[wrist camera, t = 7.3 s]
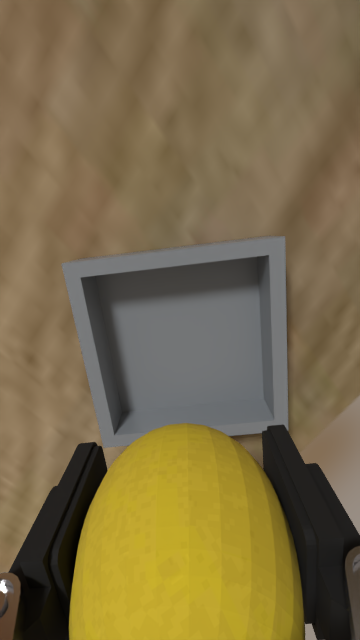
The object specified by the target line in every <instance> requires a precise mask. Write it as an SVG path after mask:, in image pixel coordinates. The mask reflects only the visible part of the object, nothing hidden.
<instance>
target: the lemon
mask: <svg viewBox="0 0 360 640" xmlns="http://www.w3.org/2000/svg"><path fill="white" fill-rule="evenodd" d="M69 640H305V622H304V608H303V597H302V588H301V579H300V571H299V565H298V559H297V553H296V549H295V545H294V540H293V536H292V533H291V530H290V526H289V523H288V520H287V518H286V515H285V513H284V510H283V508H282V506H281V503H280V501H279V499H278V497H277V495H276V492H275V490H274V488H273V486H272V484H271V482H270V480H269V478H268V477H267V475H266V473H265V472H264V470H263V469H262V468H261V466H260V465H259V464H258V462H257V461H256V460H255V459H254V458H253V457H252V456H251V455H250V453H249V452H248V451H247V450H246V449H245V448H244V447H243V446H242V445H241V444H240V443H238V442H237V441H235V440H234V439H232V438H231V437H229V436H228V435H226V434H225V433H223V432H221V431H219V430H216V429H213V428H211V427H208V426H205V425H199V424H191V423H180V424H170V425H166V426H163V427H160V428H157V429H154V430H152V431H150V432H148V433H147V434H145V435H143V436H142V437H140V438H138V439H137V440H135V441H134V442H132V443H131V444H130V445H129V446H128V447H127V448H126V449H125V451H124V452H123V453H122V454H121V455H120V456H119V457H118V458H117V459H116V460H115V461H114V463H113V464H112V465H111V467H110V468H109V470H108V471H107V473H106V475H105V477H104V478H103V480H102V482H101V484H100V486H99V488H98V490H97V492H96V494H95V496H94V498H93V500H92V503H91V505H90V507H89V510H88V512H87V515H86V518H85V521H84V525H83V528H82V531H81V536H80V540H79V545H78V550H77V556H76V563H75V569H74V576H73V583H72V592H71V601H70V615H69Z"/></svg>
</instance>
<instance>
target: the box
mask: <svg viewBox="0 0 360 640" xmlns="http://www.w3.org/2000/svg"><path fill="white" fill-rule="evenodd" d="M62 268H63V273H64V277H65V281H66V286H67V290H68V294H69V299H70V303H71V307H72V312H73V316H74V320H75V325H76V329H77V333H78V338H79V342H80V346H81V351H82V355H83V359H84V364H85V368H86V372H87V377H88V381H89V385H90V390H91V394H92V399H93V403H94V407H95V412H96V416H97V420H98V425H99V429H100V433H101V438H102V442H103V446H104V448H106V447H116V446H127V445H130V444H131V443H132V442H134V441H135V440H137V439H138V438H140V437H142V436H143V435H145V434H147V433H148V432H150V431H152V430H154V429H157V428H160V427H163V426H166V425H170V424H180V423H191V424H199V425H205V426H208V427H211V428H213V429H216V430H219V431H221V432H223V433H225V434H226V435H228V436H235V435H246V434H256V433H262V431H265V430H267V426H272V425H282V424H283V425H285V427H286V429H287V431H288V379H287V319H286V259H285V236H264V237H256V238H248V239H239V240H231V241H223V242H215V243H207V244H198V245H190V246H182V247H174V248H166V249H157V250H149V251H141V252H133V253H125V254H116V255H108V256H100V257H92V258H83V259H78V260H74V261H70V262H66V263H62Z"/></svg>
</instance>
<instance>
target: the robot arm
mask: <svg viewBox="0 0 360 640" xmlns="http://www.w3.org/2000/svg"><path fill="white" fill-rule="evenodd" d="M262 444H263V465H264V472H265V473H266V475H267V477H268V478H269V480H270V482H271V484H272V486H273V488H274V490H275V492H276V495H277V497H278V499H279V501H280V503H281V506H282V508H283V510H284V513H285V515H286V518H287V520H288V523H289V526H290V530H291V533H292V536H293V540H294V545H295V549H296V553H297V559H298V565H299V571H300V579H301V588H302V597H303V608H304V622H305V624H311V623H312V626H313V629H314V632H315V635H316V638H317V640H360V535H359V533H358V532H357V530H356V528H355V527H354V525H353V523H352V521H351V520H350V518H349V516H348V514H347V513H346V511H345V509H344V508H343V506H342V504H341V503H340V501H339V499H338V497H337V496H336V494H335V492H334V491H333V489H332V487H331V485H330V484H329V482H328V480H327V478H326V477H325V475H324V473H323V472H322V470H321V468H320V467H319V465H318V464H316V463H313V464H305V463H304V461H303V459H302V457H301V455H300V454H299V452H298V450H297V448H296V446H295V444H294V442H293V440H292V438H291V436H290V435H289V433H288V431H287V429H286V427H285V425H283V424H282V425H272V426H267V430H265V431H262ZM106 473H107V466H106V462H105V458H104V453H103V449H102V447H101V446H97V444H96V442H91V443H80V444H79V445H78V446H77V448H76V450H75V452H74V454H73V456H72V458H71V460H70V462H69V464H68V466H67V468H66V470H65V472H64V474H63V476H62V478H61V480H60V482H59V484H58V486H55V487H53V488H52V490H51V491H50V493H49V495H48V497H47V499H46V501H45V503H44V504H43V506H42V508H41V510H40V512H39V514H38V516H37V518H36V520H35V522H34V524H33V526H32V528H31V530H30V532H29V534H28V536H27V537H26V539H25V541H24V543H23V545H22V547H21V549H20V551H19V553H18V555H17V557H16V559H15V561H14V563H13V565H12V567H11V569H10V571H9V572H8V573H6V572H4V573H0V640H69V615H70V601H71V592H72V583H73V576H74V569H75V563H76V556H77V550H78V545H79V540H80V536H81V531H82V528H83V525H84V521H85V518H86V515H87V512H88V510H89V507H90V505H91V503H92V500H93V498H94V496H95V494H96V492H97V490H98V488H99V486H100V484H101V482H102V480H103V478H104V477H105V475H106Z"/></svg>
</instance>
